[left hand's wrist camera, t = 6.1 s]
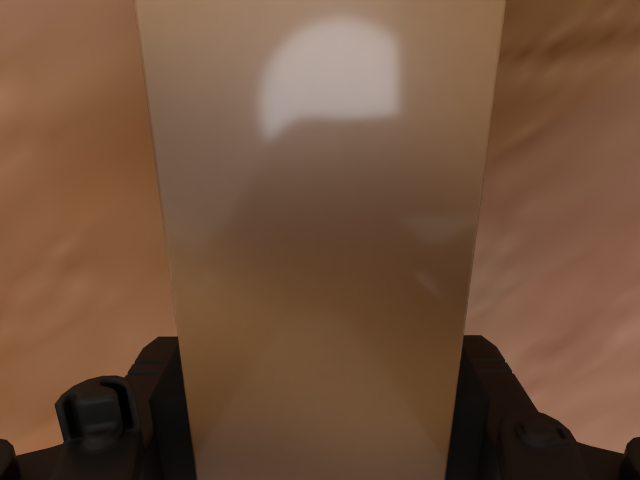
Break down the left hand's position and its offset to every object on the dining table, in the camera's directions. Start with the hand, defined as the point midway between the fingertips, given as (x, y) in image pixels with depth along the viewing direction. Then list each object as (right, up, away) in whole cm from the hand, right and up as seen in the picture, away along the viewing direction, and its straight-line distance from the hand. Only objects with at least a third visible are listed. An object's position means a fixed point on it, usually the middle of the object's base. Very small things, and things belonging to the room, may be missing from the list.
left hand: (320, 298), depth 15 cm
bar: (0, +33, -11) cm, 35 cm away
